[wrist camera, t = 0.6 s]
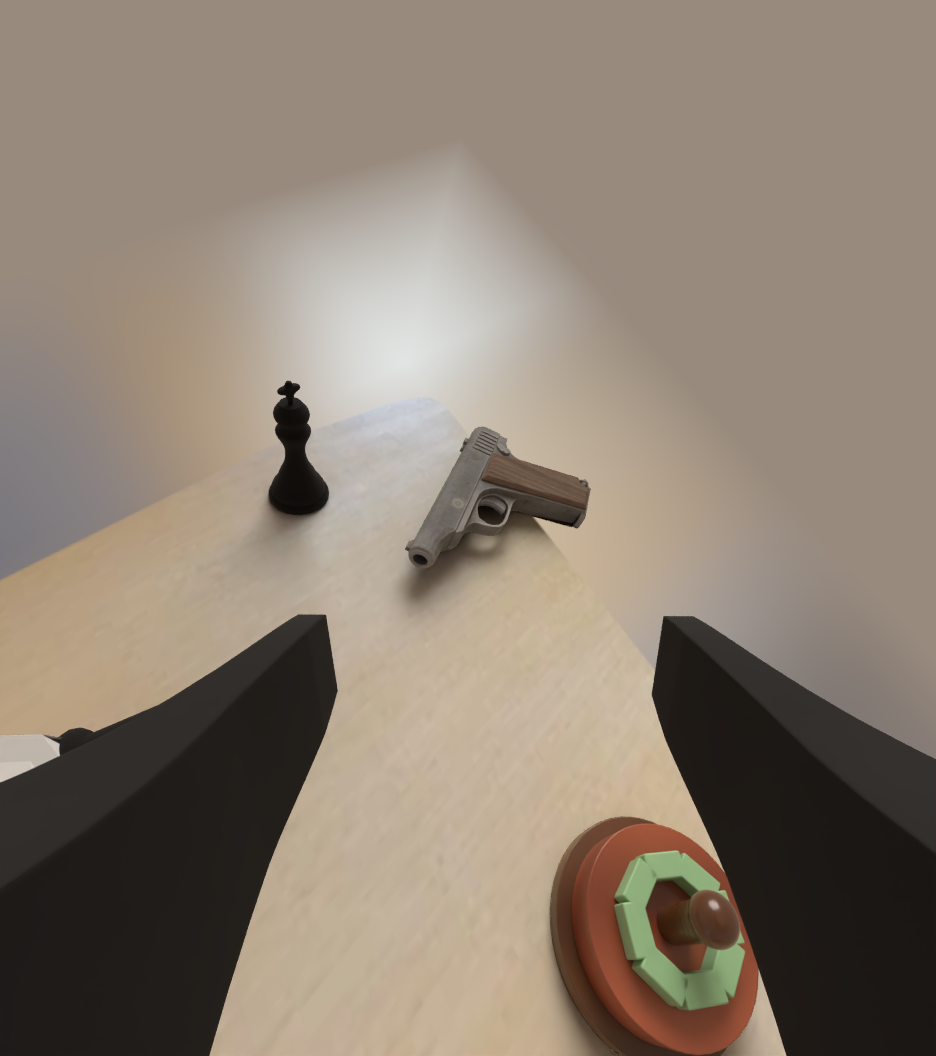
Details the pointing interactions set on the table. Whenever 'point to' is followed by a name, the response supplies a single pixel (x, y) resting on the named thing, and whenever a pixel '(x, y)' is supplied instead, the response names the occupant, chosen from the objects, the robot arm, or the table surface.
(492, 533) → the handgun
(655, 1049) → the stand
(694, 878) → the ring
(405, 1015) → the table surface
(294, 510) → the chess piece
